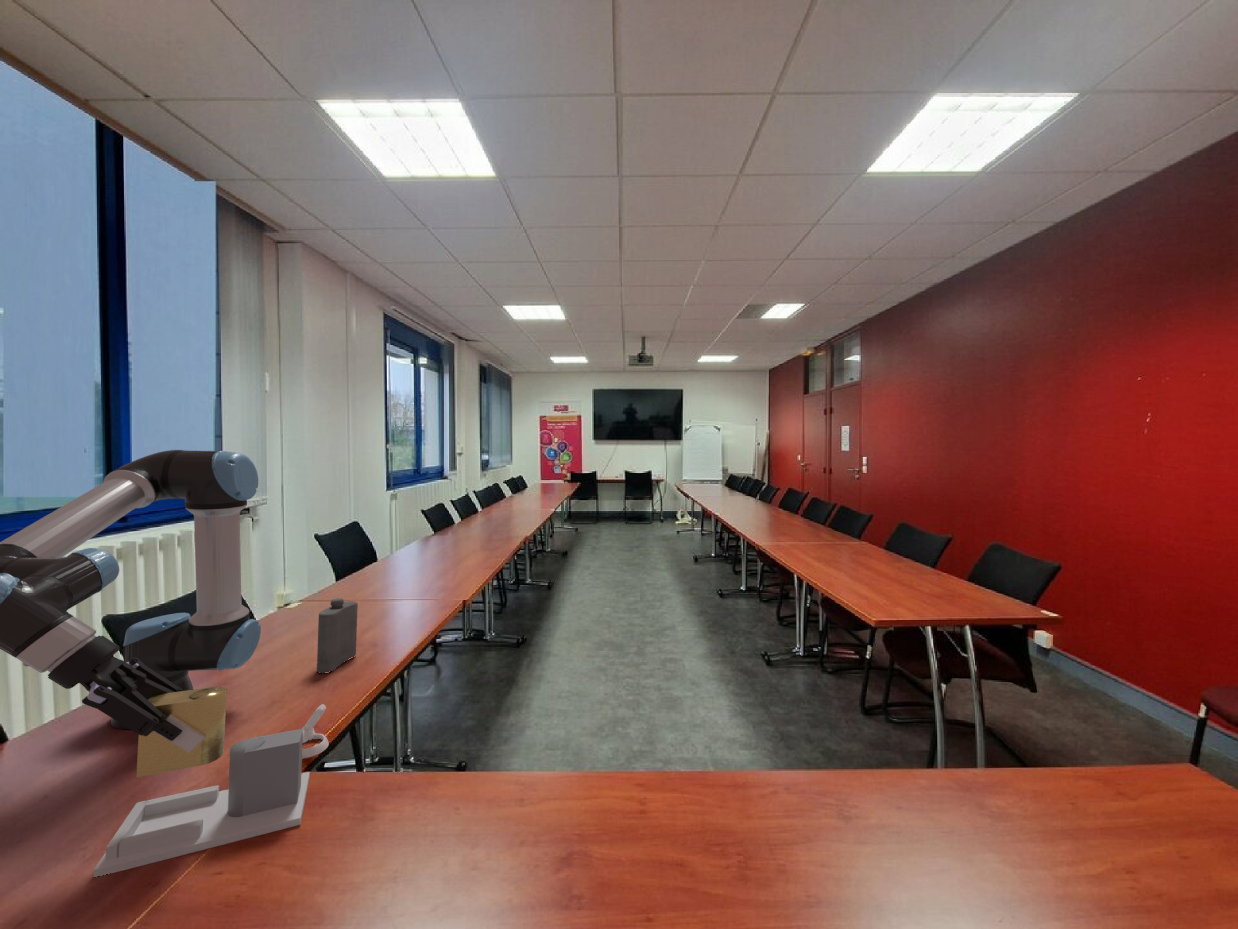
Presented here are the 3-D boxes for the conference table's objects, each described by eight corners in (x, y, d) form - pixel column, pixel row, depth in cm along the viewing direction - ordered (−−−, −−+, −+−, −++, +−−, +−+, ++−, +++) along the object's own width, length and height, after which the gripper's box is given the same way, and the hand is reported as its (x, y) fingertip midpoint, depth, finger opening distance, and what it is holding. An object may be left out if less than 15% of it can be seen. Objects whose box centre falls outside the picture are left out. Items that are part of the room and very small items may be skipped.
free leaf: (136, 777, 78) (140, 708, 78) (148, 760, 82) (152, 695, 82) (219, 762, 83) (222, 696, 83) (226, 746, 87) (230, 684, 87)
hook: (337, 736, 102) (307, 720, 101) (306, 776, 104) (276, 761, 102) (353, 711, 110) (325, 696, 108) (324, 749, 111) (296, 734, 110)
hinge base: (93, 878, 72) (96, 796, 73) (134, 816, 85) (136, 746, 85) (300, 824, 84) (302, 754, 84) (309, 777, 97) (311, 716, 97)
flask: (341, 654, 158) (343, 593, 158) (359, 655, 158) (361, 593, 158) (309, 673, 143) (312, 606, 143) (328, 674, 143) (331, 606, 143)
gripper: (79, 652, 83) (198, 729, 90) (8, 699, 67) (161, 787, 74) (122, 618, 85) (235, 695, 93) (64, 654, 69) (207, 744, 77)
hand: (202, 735), depth 83 cm, fingers closed on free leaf, 5 cm apart
